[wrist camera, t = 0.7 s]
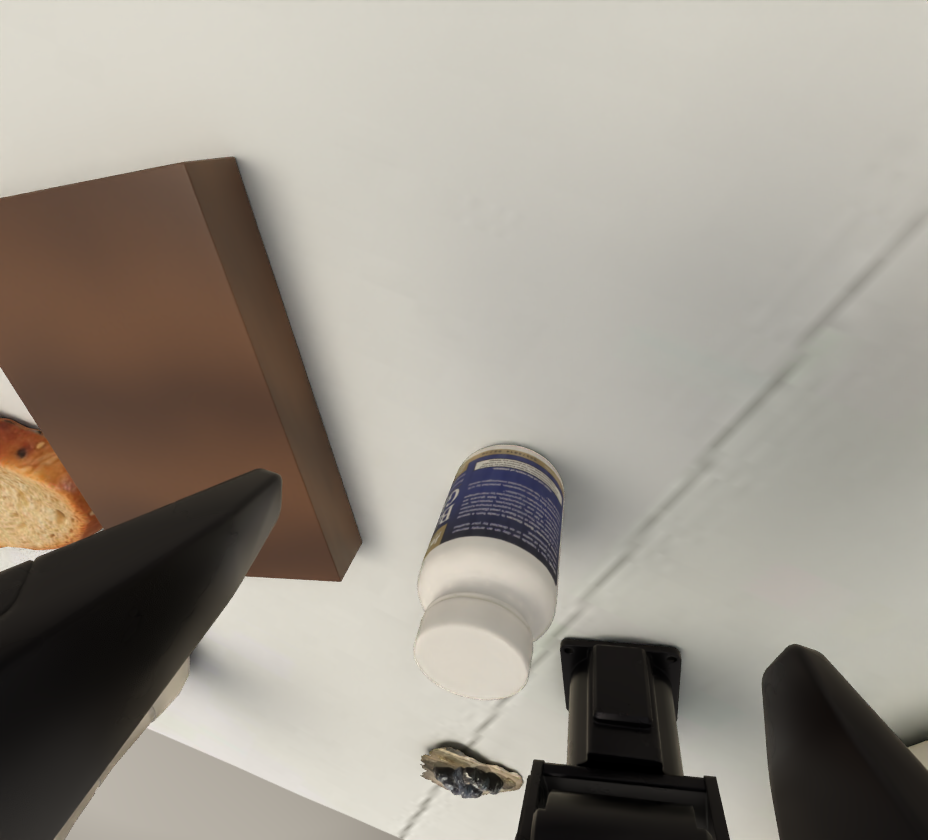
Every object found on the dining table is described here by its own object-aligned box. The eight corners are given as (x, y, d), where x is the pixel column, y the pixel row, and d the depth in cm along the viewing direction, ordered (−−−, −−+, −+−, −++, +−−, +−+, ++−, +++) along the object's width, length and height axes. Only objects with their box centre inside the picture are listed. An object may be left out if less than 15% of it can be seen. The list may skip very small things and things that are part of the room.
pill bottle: (452, 437, 24) (381, 599, 16) (566, 443, 23) (553, 621, 15) (460, 524, 27) (402, 700, 19) (563, 533, 26) (550, 726, 18)
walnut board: (362, 542, 30) (341, 582, 27) (164, 535, 33) (129, 570, 31) (234, 156, 20) (183, 161, 18) (-23, 206, 24) (-96, 217, 21)
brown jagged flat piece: (422, 732, 39) (415, 758, 37) (528, 758, 37) (525, 787, 36) (422, 776, 42) (416, 802, 40) (520, 802, 41) (517, 830, 39)
